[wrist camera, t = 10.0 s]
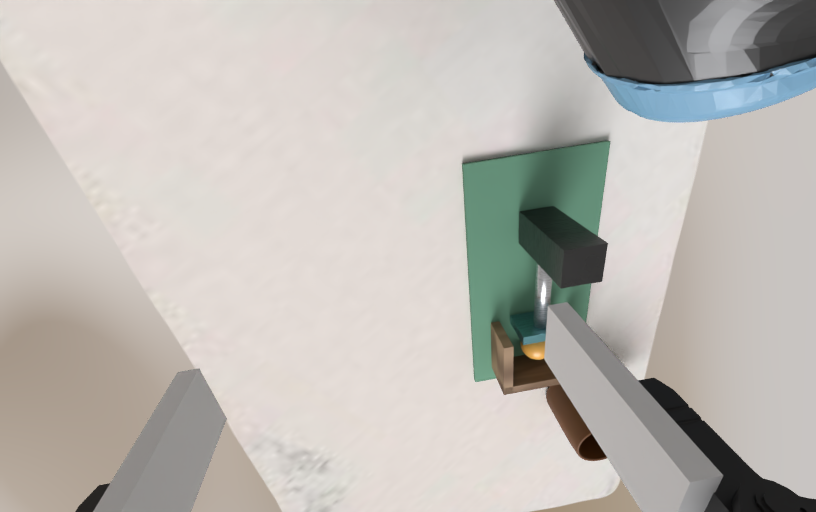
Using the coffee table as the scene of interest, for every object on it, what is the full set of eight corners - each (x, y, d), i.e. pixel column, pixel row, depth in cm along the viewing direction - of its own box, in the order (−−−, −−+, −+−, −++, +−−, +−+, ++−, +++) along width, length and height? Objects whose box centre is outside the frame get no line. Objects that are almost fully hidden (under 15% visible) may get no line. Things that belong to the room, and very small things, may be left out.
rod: (510, 212, 40) (552, 252, 31) (562, 204, 40) (618, 241, 32) (509, 322, 47) (543, 379, 39) (553, 314, 48) (597, 369, 39)
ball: (530, 360, 45) (522, 363, 48) (561, 354, 45) (550, 358, 49) (521, 328, 46) (513, 334, 50) (551, 323, 46) (541, 329, 50)
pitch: (462, 163, 38) (463, 164, 37) (607, 140, 38) (610, 141, 38) (474, 379, 53) (475, 382, 52) (578, 359, 53) (580, 362, 53)
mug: (621, 362, 55) (667, 414, 47) (613, 396, 58) (655, 450, 50) (545, 376, 54) (579, 431, 46) (542, 409, 58) (573, 466, 50)
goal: (490, 322, 47) (503, 348, 43) (570, 308, 48) (591, 332, 44) (491, 367, 51) (504, 394, 47) (565, 353, 52) (584, 379, 47)
